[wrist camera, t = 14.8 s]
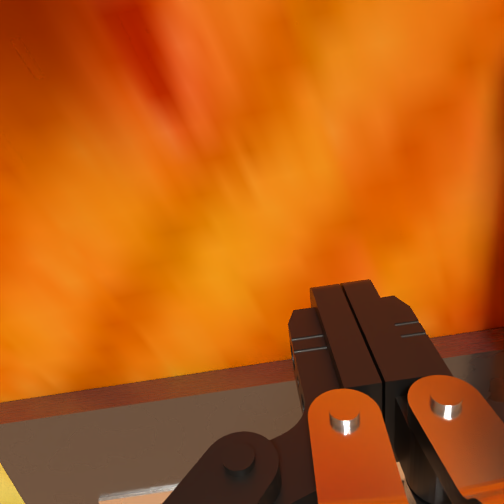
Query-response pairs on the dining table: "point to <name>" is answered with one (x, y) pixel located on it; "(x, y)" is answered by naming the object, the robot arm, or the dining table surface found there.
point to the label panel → (175, 425)
